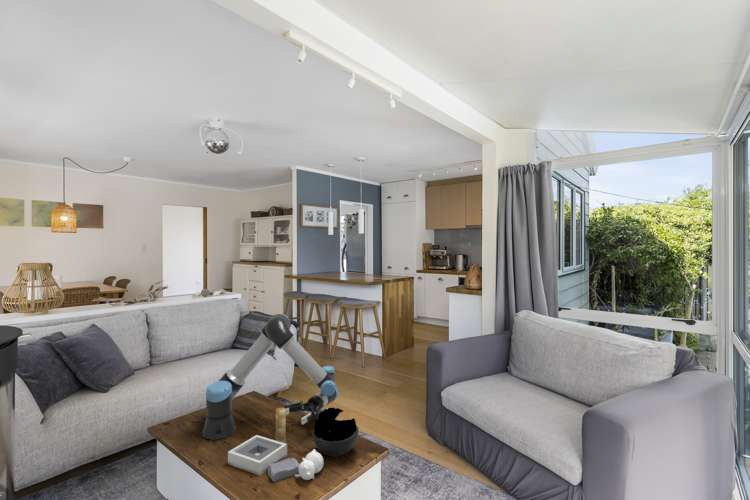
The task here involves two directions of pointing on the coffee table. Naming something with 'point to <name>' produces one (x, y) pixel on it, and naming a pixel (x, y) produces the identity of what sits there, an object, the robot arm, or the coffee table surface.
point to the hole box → (257, 454)
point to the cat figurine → (310, 465)
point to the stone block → (283, 469)
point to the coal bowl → (334, 433)
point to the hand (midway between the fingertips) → (290, 418)
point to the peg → (280, 425)
